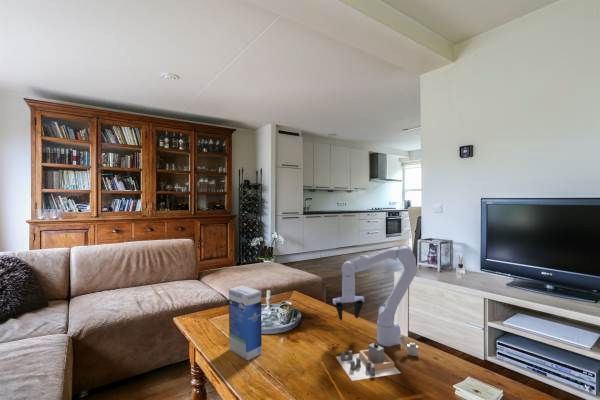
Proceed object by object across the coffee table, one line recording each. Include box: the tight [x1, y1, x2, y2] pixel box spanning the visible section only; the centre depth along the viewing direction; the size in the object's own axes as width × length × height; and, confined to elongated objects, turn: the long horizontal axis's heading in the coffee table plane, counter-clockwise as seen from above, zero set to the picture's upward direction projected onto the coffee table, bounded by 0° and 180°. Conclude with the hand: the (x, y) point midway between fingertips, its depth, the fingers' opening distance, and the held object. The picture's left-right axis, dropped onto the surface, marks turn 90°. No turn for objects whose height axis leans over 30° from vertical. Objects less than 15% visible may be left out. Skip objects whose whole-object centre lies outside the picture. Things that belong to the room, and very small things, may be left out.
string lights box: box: [228, 284, 263, 361], centre depth 124 cm, size 13×8×26 cm, turn 47°
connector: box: [367, 342, 385, 364], centre depth 115 cm, size 3×5×7 cm, turn 35°
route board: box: [335, 350, 401, 382], centre depth 114 cm, size 19×16×4 cm
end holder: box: [358, 349, 395, 371], centre depth 116 cm, size 9×11×2 cm
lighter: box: [399, 334, 419, 357], centre depth 122 cm, size 7×2×8 cm, turn 72°
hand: (348, 318), depth 135 cm, fingers open, 7 cm apart
